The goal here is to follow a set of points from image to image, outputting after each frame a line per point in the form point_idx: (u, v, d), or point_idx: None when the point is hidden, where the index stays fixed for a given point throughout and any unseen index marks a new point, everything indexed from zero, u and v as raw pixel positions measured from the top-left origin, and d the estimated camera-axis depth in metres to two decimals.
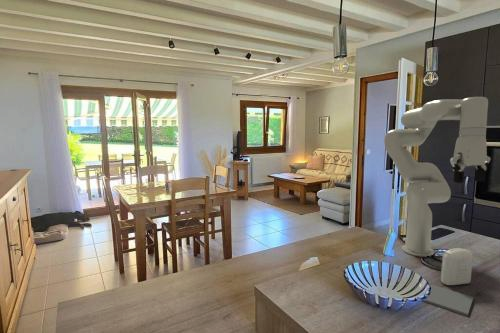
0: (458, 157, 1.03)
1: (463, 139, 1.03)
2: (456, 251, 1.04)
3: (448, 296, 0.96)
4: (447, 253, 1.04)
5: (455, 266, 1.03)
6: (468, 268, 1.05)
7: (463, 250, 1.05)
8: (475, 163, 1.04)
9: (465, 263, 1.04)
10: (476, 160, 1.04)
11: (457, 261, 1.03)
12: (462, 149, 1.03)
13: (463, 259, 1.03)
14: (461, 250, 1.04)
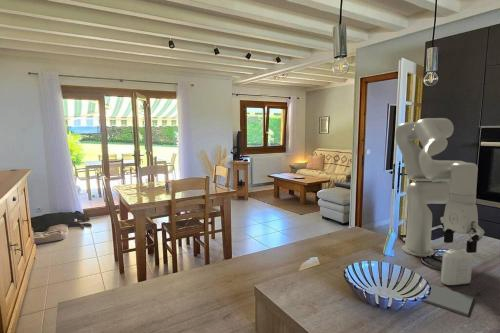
0: None
1: (474, 207, 0.99)
2: (456, 251, 1.04)
3: (448, 296, 0.96)
4: (447, 253, 1.04)
5: (455, 266, 1.03)
6: (468, 268, 1.05)
7: (463, 250, 1.05)
8: None
9: (465, 263, 1.04)
10: None
11: (457, 261, 1.03)
12: (475, 217, 0.99)
13: (463, 259, 1.03)
14: (461, 250, 1.04)
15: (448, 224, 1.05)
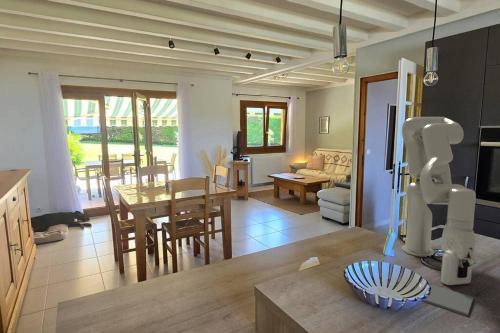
0: None
1: (472, 233, 1.00)
2: None
3: (448, 296, 0.96)
4: (447, 253, 1.04)
5: (455, 266, 1.03)
6: (468, 268, 1.05)
7: None
8: None
9: None
10: None
11: (457, 261, 1.03)
12: (472, 244, 1.00)
13: None
14: None
15: (445, 248, 1.07)
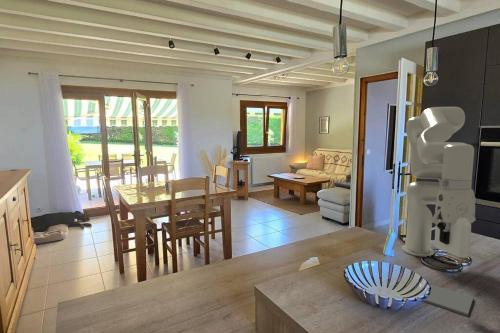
0: None
1: None
2: None
3: (448, 296, 0.96)
4: (466, 221, 0.88)
5: None
6: None
7: None
8: None
9: None
10: None
11: None
12: None
13: None
14: None
15: (454, 218, 0.89)
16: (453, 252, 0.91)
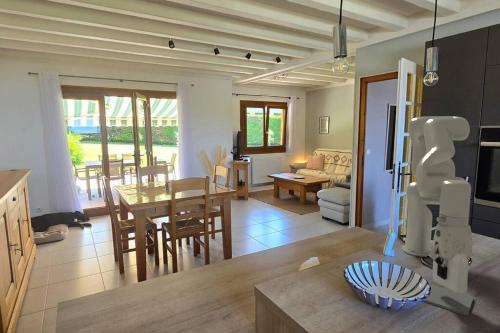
0: None
1: None
2: None
3: (448, 296, 0.96)
4: (464, 257, 0.89)
5: None
6: None
7: None
8: None
9: None
10: None
11: None
12: None
13: None
14: None
15: (452, 254, 0.91)
16: (451, 287, 0.92)
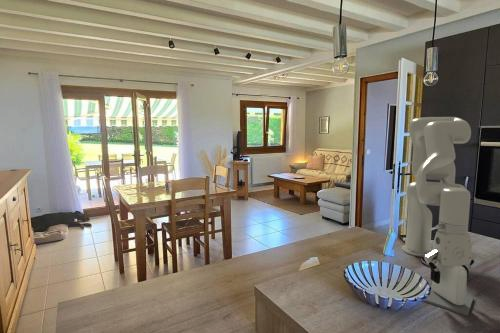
0: None
1: None
2: None
3: None
4: (462, 269, 0.90)
5: None
6: None
7: None
8: None
9: None
10: None
11: None
12: None
13: None
14: None
15: (451, 261, 0.91)
16: (449, 299, 0.92)
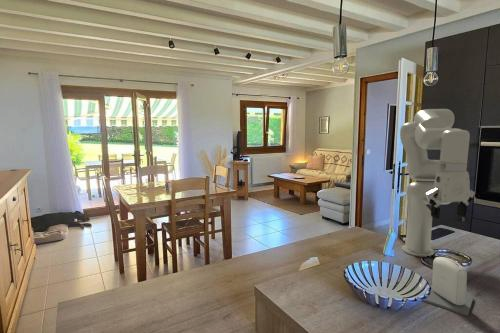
0: None
1: None
2: (457, 263, 0.93)
3: None
4: (462, 269, 0.90)
5: None
6: None
7: None
8: None
9: None
10: None
11: None
12: None
13: None
14: None
15: (450, 197, 0.98)
16: (449, 299, 0.92)
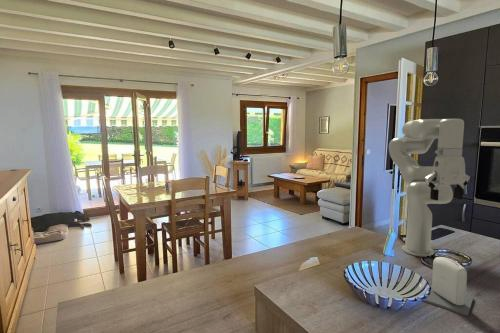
0: None
1: None
2: (457, 263, 0.93)
3: None
4: (462, 269, 0.90)
5: None
6: None
7: None
8: None
9: None
10: None
11: None
12: None
13: None
14: None
15: (448, 180, 1.07)
16: (449, 299, 0.92)
